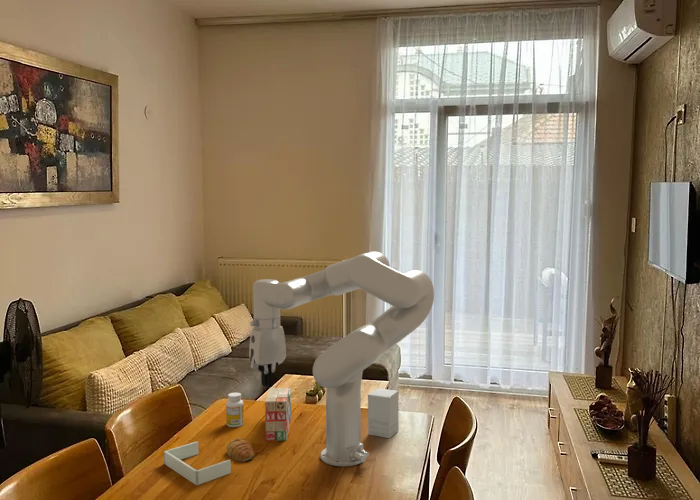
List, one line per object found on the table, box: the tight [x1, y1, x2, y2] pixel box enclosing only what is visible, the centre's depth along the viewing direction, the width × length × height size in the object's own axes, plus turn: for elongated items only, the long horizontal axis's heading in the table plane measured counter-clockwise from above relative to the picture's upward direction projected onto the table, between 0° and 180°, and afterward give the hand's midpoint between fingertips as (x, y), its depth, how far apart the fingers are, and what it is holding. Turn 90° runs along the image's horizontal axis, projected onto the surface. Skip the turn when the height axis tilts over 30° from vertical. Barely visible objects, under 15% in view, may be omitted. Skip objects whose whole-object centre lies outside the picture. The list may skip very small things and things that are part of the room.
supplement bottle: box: [225, 392, 245, 428], centre depth 199 cm, size 5×5×10 cm
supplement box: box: [367, 387, 400, 439], centre depth 191 cm, size 7×7×13 cm
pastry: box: [225, 438, 255, 463], centre depth 175 cm, size 9×7×4 cm
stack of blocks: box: [264, 387, 292, 442], centre depth 196 cm, size 21×6×12 cm, turn 1°
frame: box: [163, 441, 232, 486], centre depth 167 cm, size 17×10×4 cm, turn 43°
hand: (267, 385), depth 181 cm, fingers closed
